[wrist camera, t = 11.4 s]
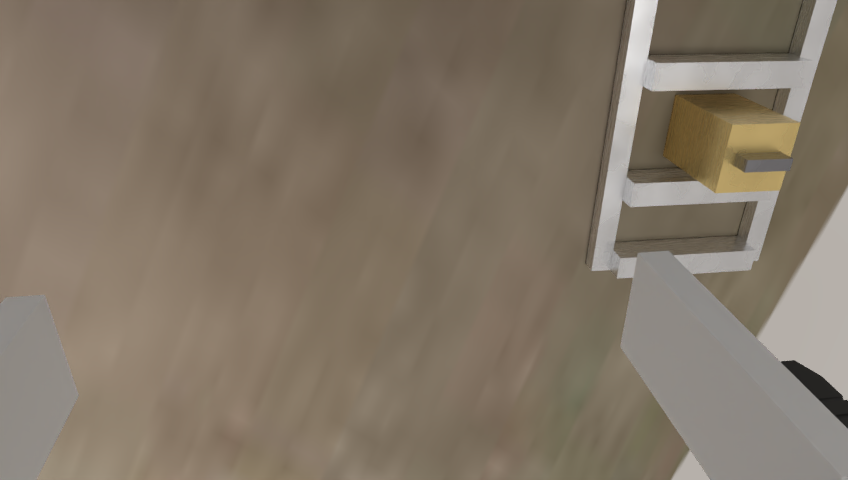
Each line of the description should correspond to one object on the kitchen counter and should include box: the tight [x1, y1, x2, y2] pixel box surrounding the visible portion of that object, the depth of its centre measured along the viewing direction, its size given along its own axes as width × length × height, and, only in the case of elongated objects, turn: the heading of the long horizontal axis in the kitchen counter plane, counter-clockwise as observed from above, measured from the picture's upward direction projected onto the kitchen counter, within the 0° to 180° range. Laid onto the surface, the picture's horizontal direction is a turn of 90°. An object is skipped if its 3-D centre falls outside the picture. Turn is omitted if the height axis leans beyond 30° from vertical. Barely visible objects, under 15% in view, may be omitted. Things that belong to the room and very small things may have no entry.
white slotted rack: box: [586, 0, 837, 278], centre depth 44 cm, size 22×14×2 cm, turn 179°
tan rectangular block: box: [663, 94, 800, 193], centre depth 42 cm, size 4×4×8 cm
